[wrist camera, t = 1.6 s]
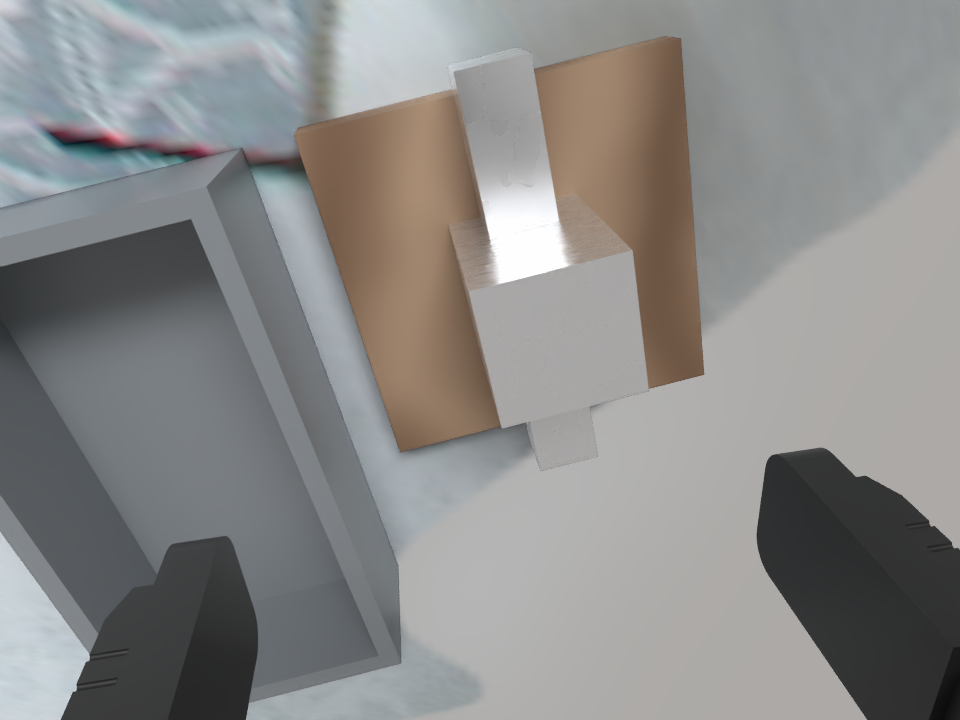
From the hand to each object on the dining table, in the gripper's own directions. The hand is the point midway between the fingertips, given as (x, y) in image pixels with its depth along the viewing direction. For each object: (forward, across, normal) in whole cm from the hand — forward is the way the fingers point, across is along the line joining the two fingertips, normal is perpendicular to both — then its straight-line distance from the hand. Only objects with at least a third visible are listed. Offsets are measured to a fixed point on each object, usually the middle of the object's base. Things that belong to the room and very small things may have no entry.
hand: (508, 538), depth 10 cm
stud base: (+19, -4, +3) cm, 20 cm away
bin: (+20, +11, +9) cm, 24 cm away
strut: (+18, -4, +3) cm, 18 cm away
